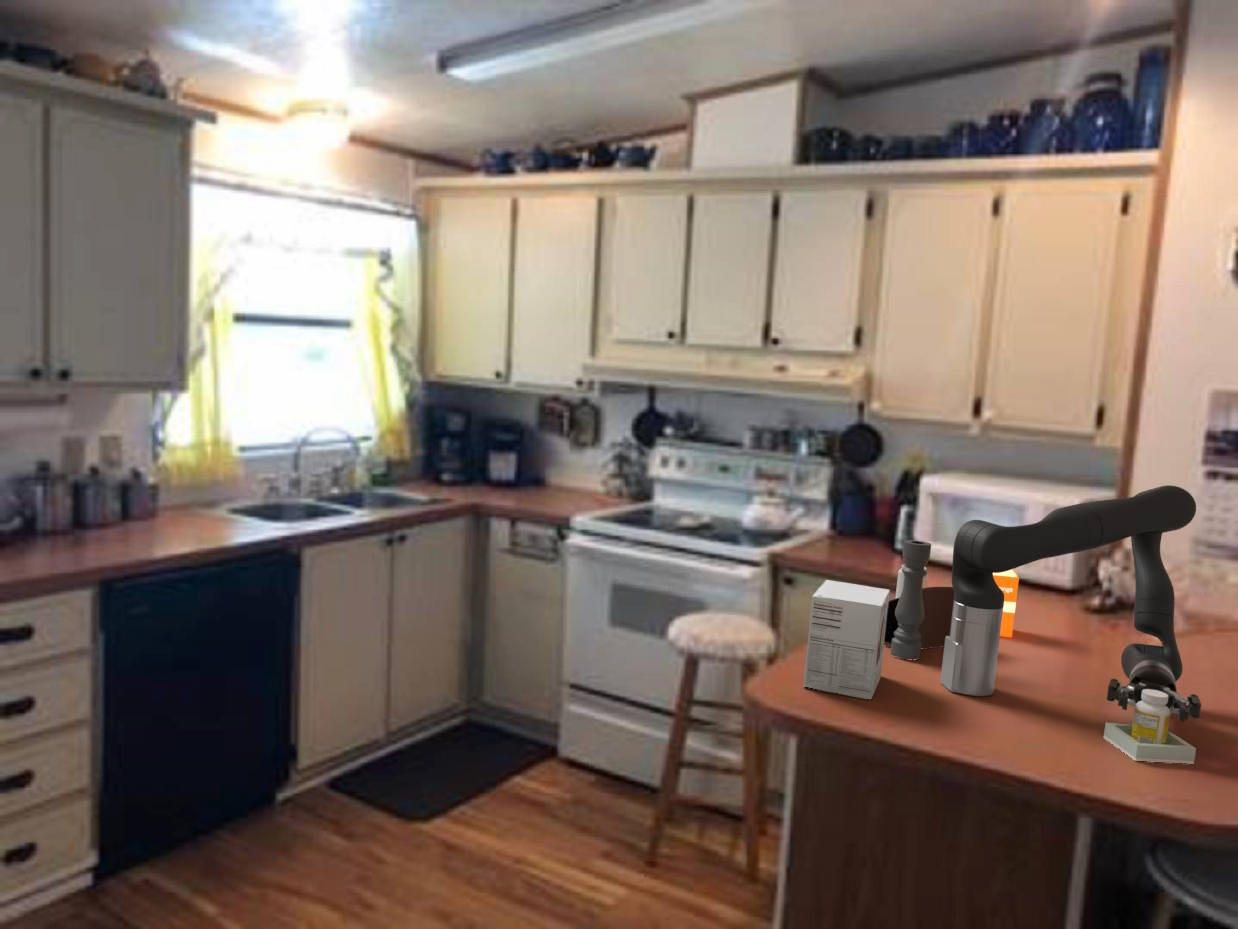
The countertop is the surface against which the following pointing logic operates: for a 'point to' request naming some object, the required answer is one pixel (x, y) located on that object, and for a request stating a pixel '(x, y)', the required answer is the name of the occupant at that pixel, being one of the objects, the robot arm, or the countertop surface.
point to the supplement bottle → (1151, 718)
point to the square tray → (1149, 746)
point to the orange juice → (1007, 599)
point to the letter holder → (927, 617)
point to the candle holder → (911, 601)
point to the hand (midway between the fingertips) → (1153, 710)
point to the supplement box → (846, 639)
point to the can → (901, 581)
